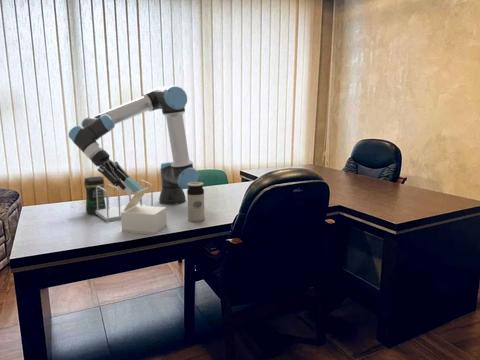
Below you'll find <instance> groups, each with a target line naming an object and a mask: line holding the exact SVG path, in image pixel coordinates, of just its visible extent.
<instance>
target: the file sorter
mask: <svg viewBox="0 0 480 360" xmlns="http://www.w3.org/2000/svg"><path fill="white" fill-rule="evenodd" d="M141 182H143V183H145V184H148V185H149V186H150V194H151V195H150V199H151V200H150V201H151V205H150V206H153V207H154V204H153V203H154V202H153V201H154V199H153V196H154V195H153V193H154V192H153V185H152V183H150V182H148V181H146V180H144V179H139V181H138V184H140V185H141ZM98 187H99V188H100V189H102V190H103V192H105V200H106V201H105V204H106V209H100V210H98V193H97V188H98ZM109 187H111V188H112V189H113V188H114V189H116V191H117V201H118V203H117V204H118V206H113V207H110V200H109ZM131 195H132V194H131ZM131 195H130V196H128V199H129V200H128V201H129V202H130V200H131V199H132V196H131ZM96 198H97V210H95V212H96V213H95V215H97V216H98V217H100V218H101V219H103V220H104V221H105V222H107V223H108V222H113V221H117V220H118V221H119V220H121V212H122V211H124V209H125V208H126V206H127V205H128V204H127V205H121V195H120V187H119V186H115V185H113V184H110V183H108V184H106V189H105V188H104V187H103V188H101V187H100V186H96ZM129 202H128V203H129ZM137 205H138V206H147V205H146V204H144V203H143V197H142V198H141V200H140V201H139V202H138V204H137Z"/></svg>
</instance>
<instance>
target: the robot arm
mask: <svg viewBox="0 0 480 360" xmlns="http://www.w3.org/2000/svg"><path fill="white" fill-rule="evenodd" d="M187 103H188V95H187V92H186V91H185V90H184V89H183V88H182V87H180V86H178V85H167V86H165V85H164V86H158V87H157V88H153V89H152V90H149V91H148V92H146V93H143V94H142V95H141V97H138V98H136V99H133V100H131V101H128V102H126V103H122V104H121V105H119V106H115V107H113V108H111V109H109V110H105V111H103V112H101V113H99V114H96V115H93V116H91V117H90V116H89V117H86V118H84V119H83V120H82V121H81V124H79V125H76V126H74V127H72V128H71V129H70V130H69V131H68V138H69V139H70V140H71V141H72V142H73V144H74V145H75V146H76V147H78V149H79V150H80V151H82V153H83V154H84V155H85V156H86V157H87V158H88V159H89V160H90V161H91V163H92V164H93V165H94V166H95V167H98V168H97V171H98V172H99V173H100V174H102V175H103V176H104V177H105V178H106V180H108V181H109V183H111V185H112V186H115V187H118V186H119V189H121V190H122V191H123V192H124V193H125V194H126V195H127V196H128V197H129V196H130V195H132V194H133V195H135V192H134V191H133V190H132V189H131V188H129V187H128V186H127V185H126V184H125V183H124V181H125V180H126V178H129V177H130V175H129V174H128V173H127V172H126V171H125V170H124V169H123V167H121V165H120V163H119V162H118V161H115V162H114V161H113V160H112V159H110V154H109V153H108V152H107V151H106V150H105V149H104V148H103V147H102V146H101V145H100V144H99V143H98V142H97V140H99V139H101V137H103V136H105V135H107V134H108V133H109V132H111V131H112V130H113V129H114V128H115V127H116V126H115V125H117V124H119V123H122V122H125V121H127V120H129V119H132V118H134V117H136V116H138V115H141V114H144V113H146V112H150V113H152V112H153V111H156V110H161V112H162V115H163V116H165V119H166V125H167V130H168V137H169V138H168V139H169V143H170V149H171V155H172V156H171V157H172V161H168V162H162V163H161V164H160V178H161V179H160V181H161V190H160V194H159V198H158V202H159V203H160V204H161V205H162V204H163V205H179V204H182V203H185V202H187V201H186V199H187V198H186V195H185V192H184V189H187V190H188V188H189V187H188V183H191V182H198V180H199V173H198V171H197V170H196V169H195V168H194V163H193V161H192V160H191V159H190V157H189V149H188V144H187V142H188V141H187V136H186V129H185V123H184V113H186V109H185V108H186V106H187Z"/></svg>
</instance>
